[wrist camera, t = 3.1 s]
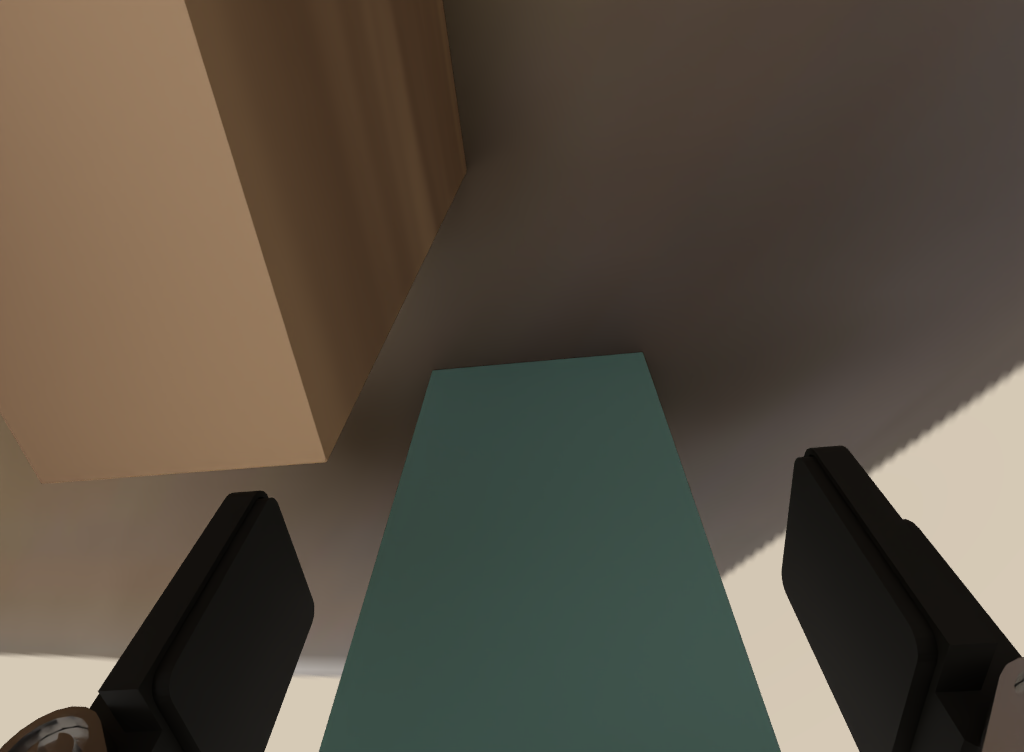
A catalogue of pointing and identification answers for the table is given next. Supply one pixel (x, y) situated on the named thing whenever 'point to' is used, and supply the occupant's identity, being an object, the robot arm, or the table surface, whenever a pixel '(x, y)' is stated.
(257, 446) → the tile
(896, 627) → the robot arm
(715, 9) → the table surface
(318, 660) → the table surface
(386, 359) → the table surface
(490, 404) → the tile
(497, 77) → the table surface
